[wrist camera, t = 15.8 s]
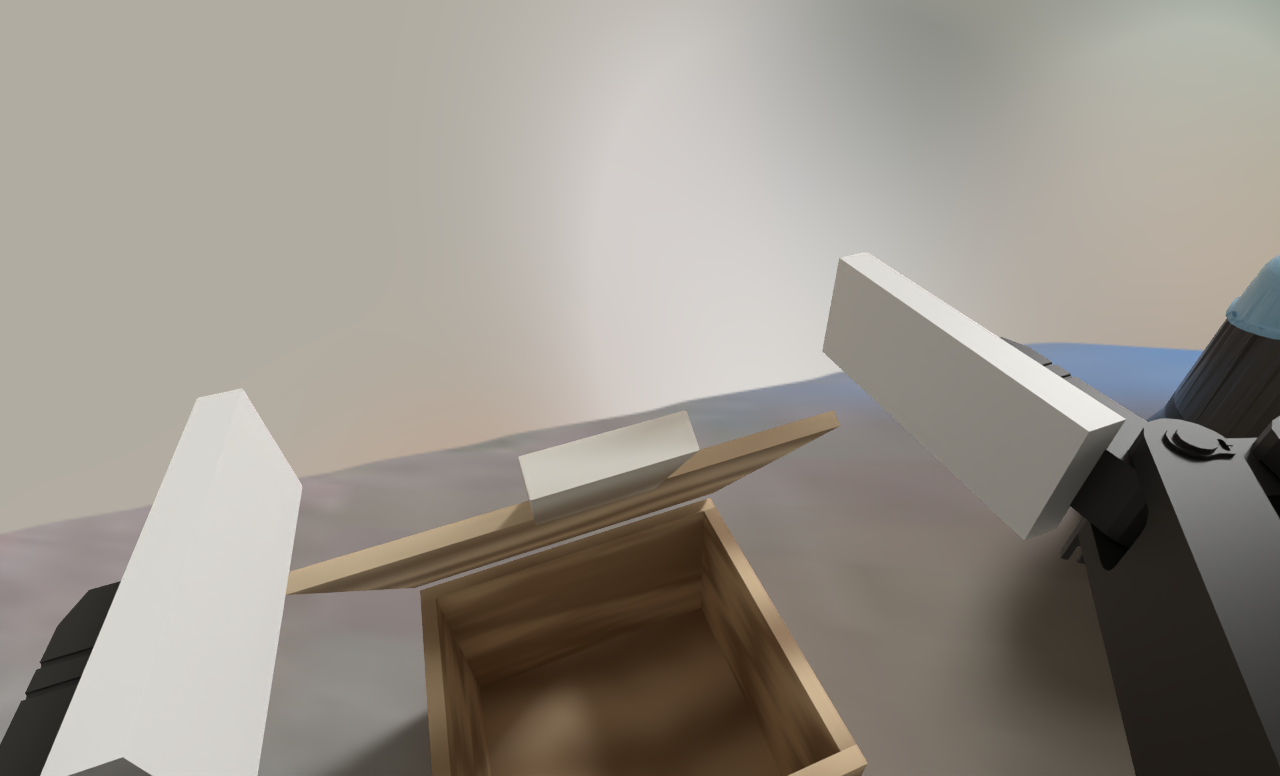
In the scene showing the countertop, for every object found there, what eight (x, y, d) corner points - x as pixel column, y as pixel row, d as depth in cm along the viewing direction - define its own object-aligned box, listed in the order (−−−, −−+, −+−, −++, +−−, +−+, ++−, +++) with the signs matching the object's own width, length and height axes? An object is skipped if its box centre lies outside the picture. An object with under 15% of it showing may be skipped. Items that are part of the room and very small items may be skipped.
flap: (415, 591, 32) (411, 573, 33) (714, 495, 37) (708, 480, 37) (150, 612, 11) (145, 560, 11) (952, 374, 15) (936, 340, 15)
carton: (469, 686, 40) (420, 590, 33) (705, 600, 44) (710, 498, 37) (507, 1001, 28) (443, 962, 21) (825, 842, 32) (867, 763, 25)
